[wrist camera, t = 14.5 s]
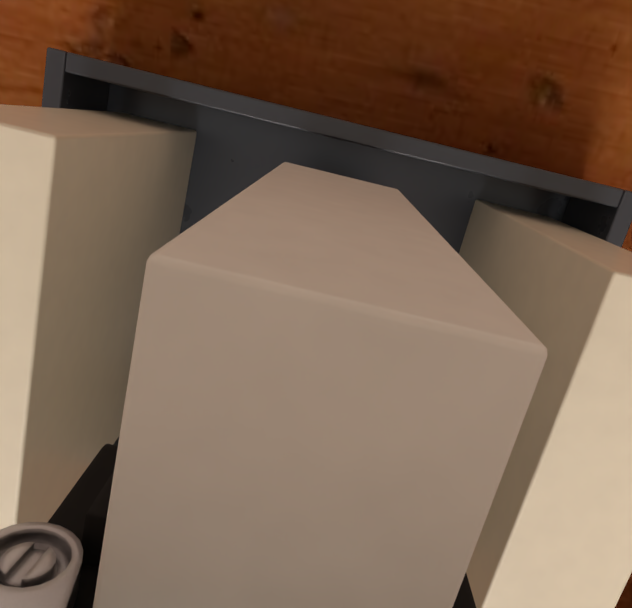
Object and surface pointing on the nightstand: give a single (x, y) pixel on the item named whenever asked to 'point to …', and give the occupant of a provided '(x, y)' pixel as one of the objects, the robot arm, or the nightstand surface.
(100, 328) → the cream books
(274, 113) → the book tray
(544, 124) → the nightstand surface
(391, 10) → the nightstand surface
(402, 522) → the white book
